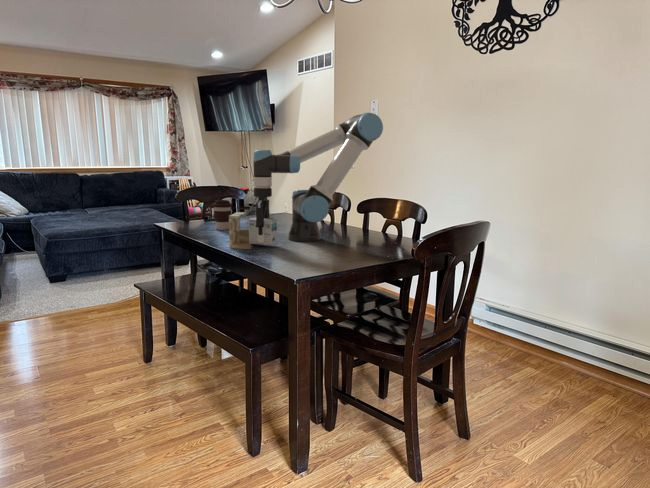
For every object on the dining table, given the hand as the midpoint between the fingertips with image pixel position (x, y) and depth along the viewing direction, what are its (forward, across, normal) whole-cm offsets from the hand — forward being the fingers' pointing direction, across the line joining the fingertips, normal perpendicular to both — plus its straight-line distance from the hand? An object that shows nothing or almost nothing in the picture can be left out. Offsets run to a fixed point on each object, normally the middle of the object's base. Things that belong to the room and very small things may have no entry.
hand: (263, 240), depth 196 cm
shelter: (+2, 0, -8) cm, 8 cm away
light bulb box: (+1, 0, 0) cm, 1 cm away
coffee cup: (+3, -40, -31) cm, 50 cm away
